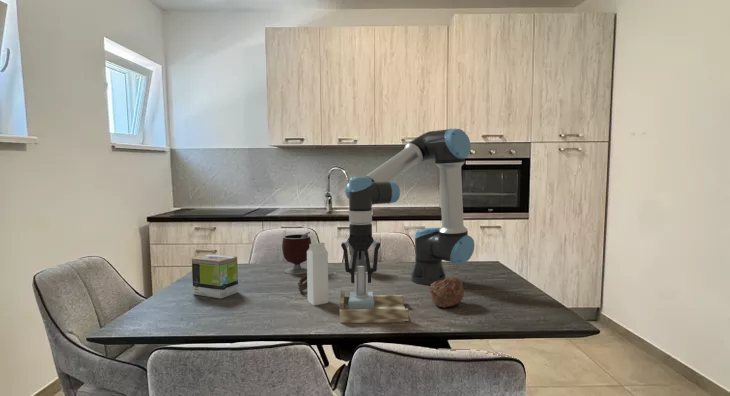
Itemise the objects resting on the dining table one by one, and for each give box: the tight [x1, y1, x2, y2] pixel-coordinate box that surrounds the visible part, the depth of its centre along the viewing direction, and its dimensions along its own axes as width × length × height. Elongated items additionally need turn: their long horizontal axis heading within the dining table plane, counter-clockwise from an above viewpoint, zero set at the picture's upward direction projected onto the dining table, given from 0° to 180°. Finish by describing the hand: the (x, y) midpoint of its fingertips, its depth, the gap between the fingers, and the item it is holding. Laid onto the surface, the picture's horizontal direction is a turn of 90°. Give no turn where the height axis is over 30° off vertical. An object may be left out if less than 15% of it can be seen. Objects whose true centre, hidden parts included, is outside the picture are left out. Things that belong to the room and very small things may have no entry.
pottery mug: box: [297, 274, 307, 292], centre depth 158 cm, size 12×9×8 cm
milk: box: [306, 242, 329, 306], centre depth 144 cm, size 6×6×22 cm
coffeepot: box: [348, 244, 368, 272], centre depth 185 cm, size 15×9×18 cm, turn 9°
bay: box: [339, 290, 410, 324], centre depth 134 cm, size 22×18×6 cm
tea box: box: [191, 253, 239, 299], centre depth 156 cm, size 15×10×15 cm, turn 65°
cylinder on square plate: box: [348, 266, 374, 309], centre depth 132 cm, size 8×10×15 cm
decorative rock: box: [429, 276, 465, 308], centre depth 140 cm, size 13×11×10 cm
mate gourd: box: [281, 231, 312, 275], centre depth 189 cm, size 16×14×20 cm
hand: (361, 292), depth 132 cm, fingers closed on cylinder on square plate, 3 cm apart
